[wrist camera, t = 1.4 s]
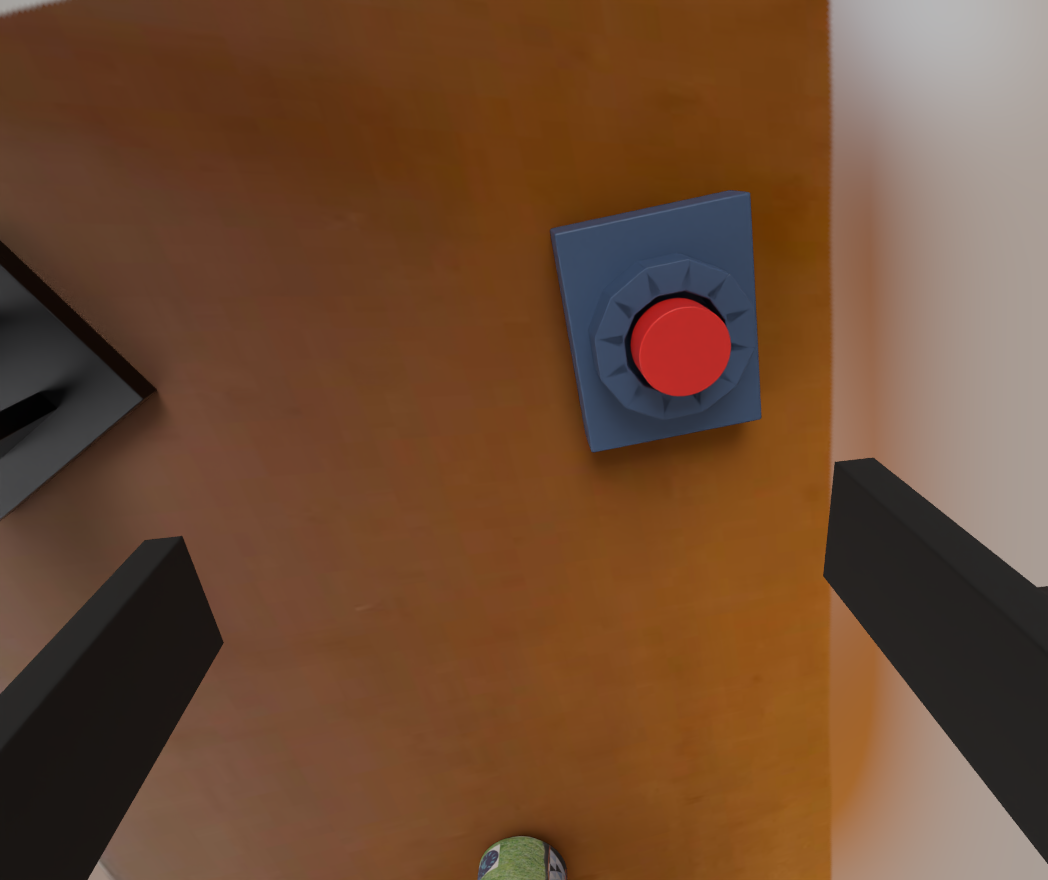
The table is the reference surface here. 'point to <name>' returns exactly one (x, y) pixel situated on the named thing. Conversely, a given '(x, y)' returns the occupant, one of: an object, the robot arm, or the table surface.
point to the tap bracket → (52, 384)
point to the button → (680, 346)
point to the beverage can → (522, 861)
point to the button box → (639, 283)
